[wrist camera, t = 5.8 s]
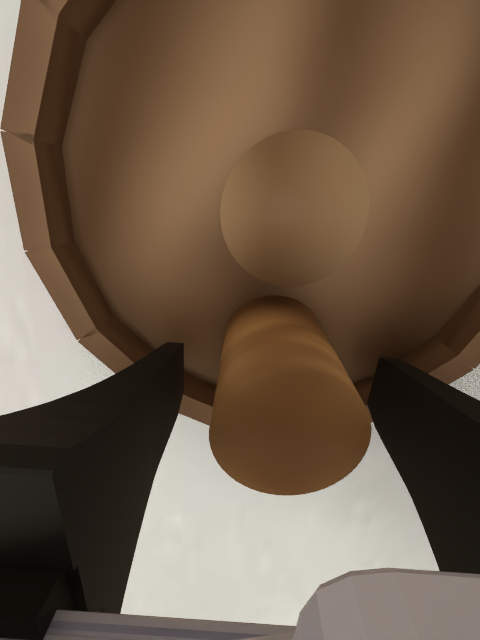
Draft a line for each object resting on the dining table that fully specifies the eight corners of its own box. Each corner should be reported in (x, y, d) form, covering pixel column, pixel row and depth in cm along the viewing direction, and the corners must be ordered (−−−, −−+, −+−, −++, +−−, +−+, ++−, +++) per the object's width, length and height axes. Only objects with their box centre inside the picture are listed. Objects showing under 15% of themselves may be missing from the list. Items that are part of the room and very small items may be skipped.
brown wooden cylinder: (330, 299, 13) (390, 376, 8) (312, 386, 15) (351, 501, 9) (228, 290, 13) (212, 361, 8) (221, 378, 15) (205, 489, 9)
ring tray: (657, -114, 9) (780, -206, 7) (444, 417, 16) (473, 449, 14) (-4, -164, 9) (-81, -273, 7) (81, 391, 16) (57, 419, 14)
